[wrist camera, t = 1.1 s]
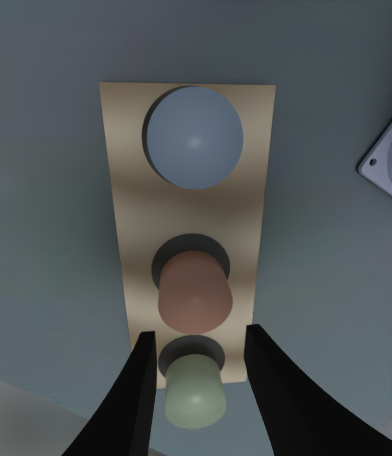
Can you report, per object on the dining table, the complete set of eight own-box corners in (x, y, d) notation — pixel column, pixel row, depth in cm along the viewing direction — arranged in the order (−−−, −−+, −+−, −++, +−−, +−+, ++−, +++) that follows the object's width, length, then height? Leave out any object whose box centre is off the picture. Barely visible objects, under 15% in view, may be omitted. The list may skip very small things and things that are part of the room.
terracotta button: (158, 251, 16) (155, 273, 13) (225, 249, 16) (235, 270, 14) (161, 307, 17) (159, 336, 15) (222, 304, 18) (230, 332, 15)
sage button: (164, 356, 19) (163, 389, 17) (220, 352, 19) (227, 384, 17) (166, 395, 21) (166, 432, 18) (218, 391, 21) (224, 426, 18)
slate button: (149, 95, 13) (143, 85, 10) (232, 96, 13) (246, 87, 11) (154, 180, 14) (150, 190, 12) (228, 179, 15) (240, 188, 12)
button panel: (105, 87, 15) (98, 81, 13) (266, 89, 16) (276, 84, 14) (138, 375, 23) (135, 391, 22) (241, 366, 24) (246, 382, 23)
